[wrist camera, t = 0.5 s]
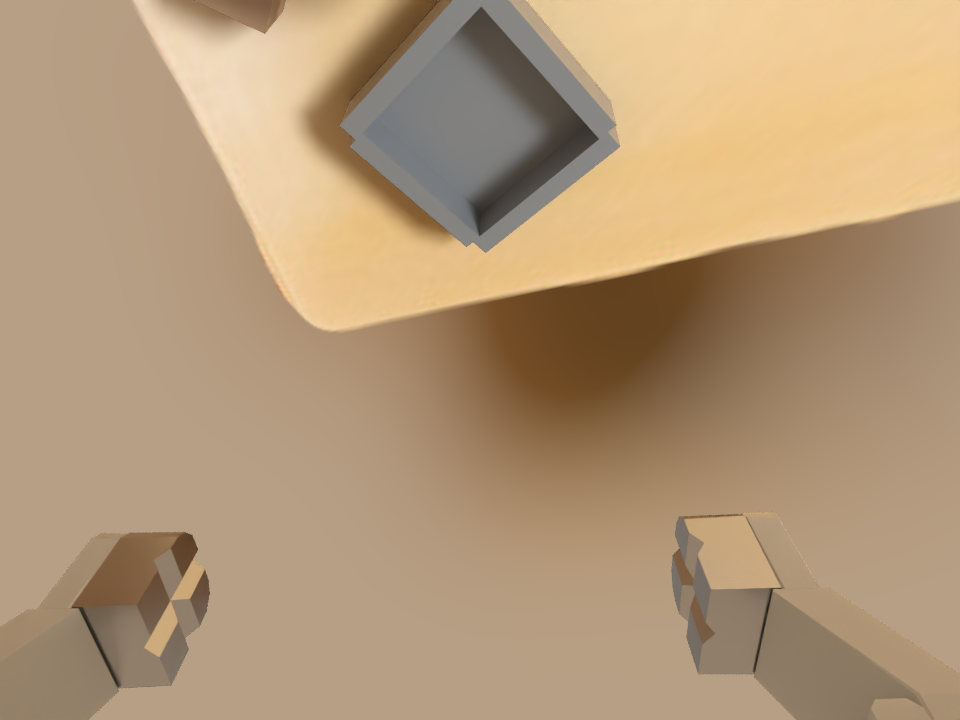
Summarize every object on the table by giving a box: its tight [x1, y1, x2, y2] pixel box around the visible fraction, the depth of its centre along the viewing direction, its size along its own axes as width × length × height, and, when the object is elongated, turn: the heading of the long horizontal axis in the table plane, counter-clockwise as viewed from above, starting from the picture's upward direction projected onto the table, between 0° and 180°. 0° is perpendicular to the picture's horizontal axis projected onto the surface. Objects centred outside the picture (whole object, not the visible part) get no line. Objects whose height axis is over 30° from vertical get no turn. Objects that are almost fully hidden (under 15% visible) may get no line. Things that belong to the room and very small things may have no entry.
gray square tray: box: [339, 0, 620, 253], centre depth 52 cm, size 16×16×4 cm
